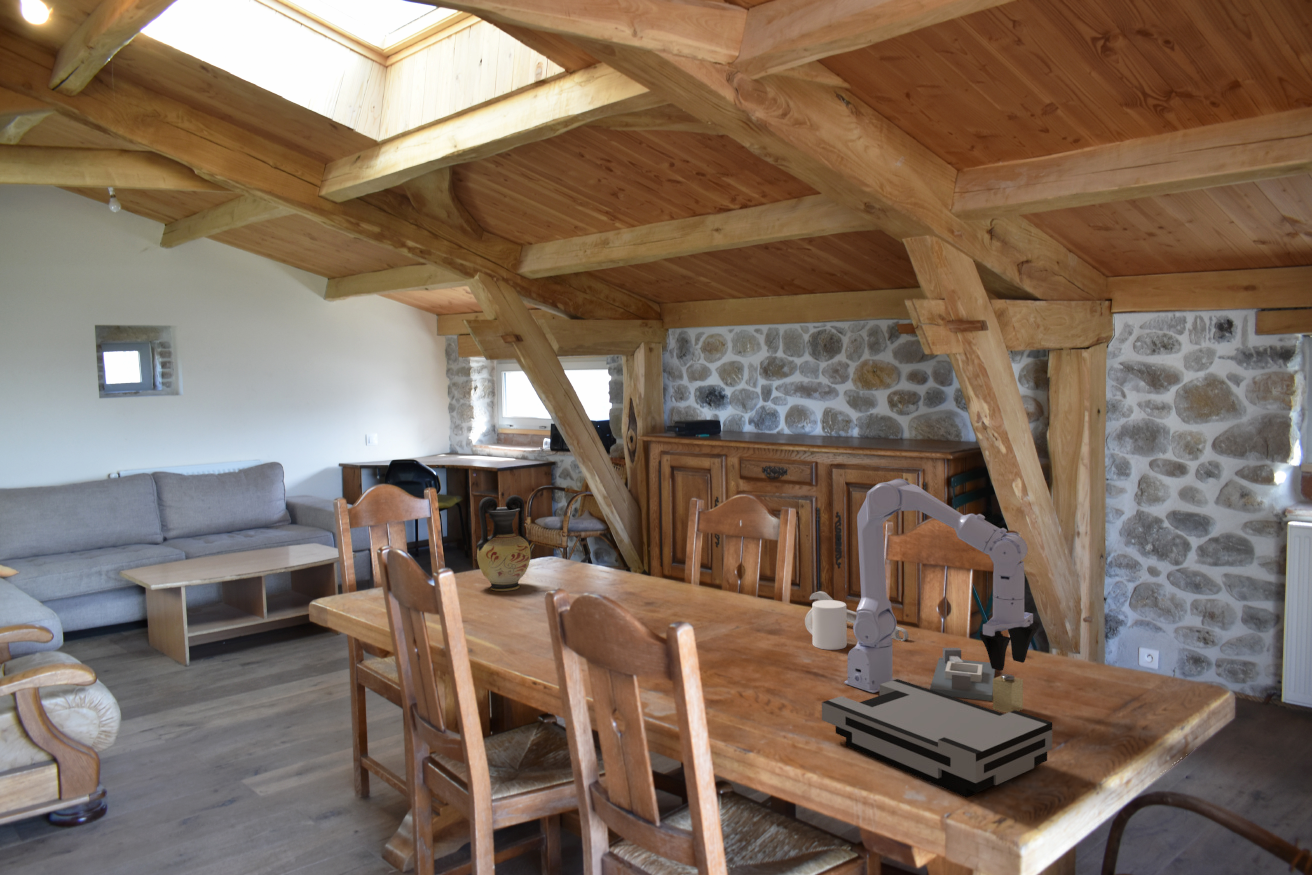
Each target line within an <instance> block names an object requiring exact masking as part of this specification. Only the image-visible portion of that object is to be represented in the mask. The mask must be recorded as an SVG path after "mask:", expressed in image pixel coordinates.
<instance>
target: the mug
mask: <svg viewBox="0 0 1312 875" xmlns="http://www.w3.org/2000/svg"><path fill="white" fill-rule="evenodd" d="M811 606H812V608H811V609H810V610H809V611H808V612H807V613H806V615H805V618H804V625H805V628H806V630H807V632H809V634H811V635H812V645H813V647H815V648H817V649H820V650H827V651H828V650H829V651H835V650H838V651H839V650H841V649H844V648H846V647H847V646H848V645H847V641H848V638H847V631H848V630H847V628H848V627H847V626H848V624H847V623H848V622H847V609H848V608H847V604H846V602H844V601H840V600H834V599H833V600H820V601H819V600H815V601H813V602H812V605H811Z"/></svg>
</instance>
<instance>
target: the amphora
mask: <svg viewBox="0 0 1312 875" xmlns="http://www.w3.org/2000/svg"><path fill="white" fill-rule="evenodd" d="M517 512H518V514H517ZM478 513H479V514H478V516H479V521H480V530H481V538H480V540H479V541H478V542H477V543H476V548H477V552H476V560H477V564H478V566H479V570H480V571H481V573H482V575H483V576H484V578H486V579H487V581H489V583H490V585H491V586H490V590H493V591H497V592H506V591H515V590H517V589H519V588H520V586H521V585H520V583H519V581H520V580H521V578H522V577H524V575H525V574H526V572H527V570H528V568H529V565H530V562H531V548H530V545H529V538H528V537H527V536H526V535H525V501H524V499H523V498H522V497H521V496H520V495H515V494H513V495H510V496H509V497H507V498H506V500H505V506H502V507H498V501H497V500H496V499H495V497H491V496H487V497H484V498H482V499H481V501H480V502H479V504H478ZM486 514H488V517H489V519H490V521H492V524H493V531H492V533H491V534H490V536H489V534H488V532H489V531H488V524H487V523H488V522H487V515H486ZM516 517H517V534H516V533H515V532H514V526H513V523H514V522H513V521H514V520H515V518H516Z"/></svg>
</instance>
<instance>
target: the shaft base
mask: <svg viewBox="0 0 1312 875" xmlns="http://www.w3.org/2000/svg"><path fill="white" fill-rule="evenodd" d="M995 674H996V669H992V667H991V664H990V661H989V662H986V661H976V660H969V659H968V660H967V659H962V649H961V648H960V647H942V657H939V658H938V661H937V665H936V667H935V671H934V673H933V678H932V680H931V683H930V687H929V689H930V690H933V691H936V692H939V693H942V694H945V695H948V696H951V697H954V698H960V699H961V698H962V699H971V700H978V701H979V700H980V701H989V702H993V678H995Z"/></svg>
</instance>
